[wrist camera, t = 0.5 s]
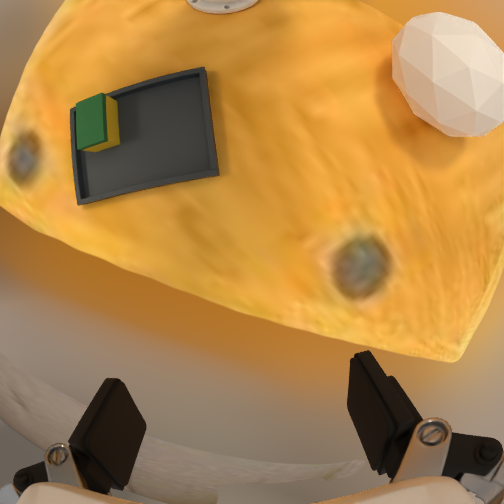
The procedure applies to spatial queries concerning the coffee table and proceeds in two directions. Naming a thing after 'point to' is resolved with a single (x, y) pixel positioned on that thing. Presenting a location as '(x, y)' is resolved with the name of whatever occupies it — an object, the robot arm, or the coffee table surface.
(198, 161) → the tray
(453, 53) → the geometric sphere
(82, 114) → the sponge
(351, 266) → the coffee table surface
